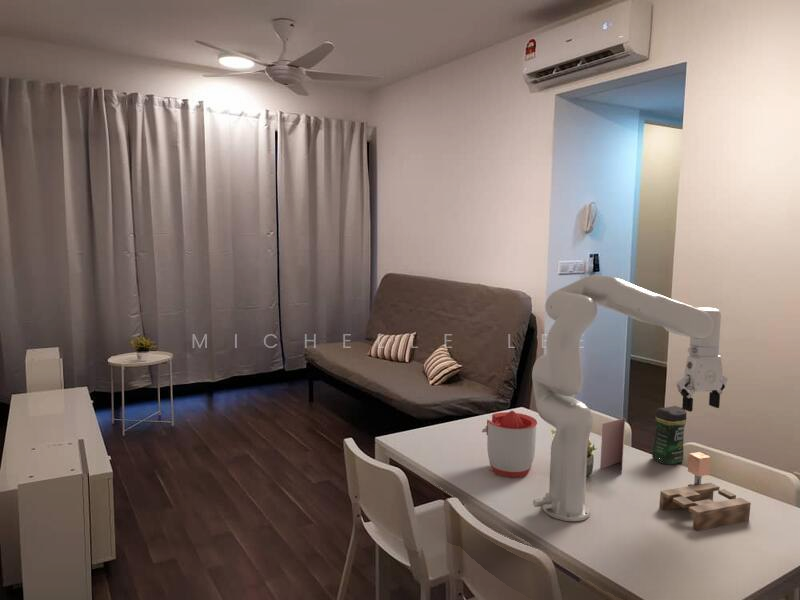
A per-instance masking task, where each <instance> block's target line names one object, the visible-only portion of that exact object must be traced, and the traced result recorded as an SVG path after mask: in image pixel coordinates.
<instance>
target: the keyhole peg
mask: <svg viewBox="0 0 800 600" xmlns="http://www.w3.org/2000/svg"><path fill="white" fill-rule="evenodd" d="M710 469H711V456H709V455H707V454H705V453H702V452H701V451H698V452H690V453H688V462H687V472H688V473H690V474H692V475H694V480H693V483H689V484H688V485H687V486H693V485H699V484H702V477H705V476H710Z"/></svg>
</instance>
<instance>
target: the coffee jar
mask: <svg viewBox="0 0 800 600" xmlns="http://www.w3.org/2000/svg"><path fill="white" fill-rule="evenodd" d="M687 415H688V414H687V410H684V409H683V408H682V407H680V406H678V405H673V406H666V407H659V408H657V409H656V413H655V433H654V440H653V441H654V442H653V446H652V447H653V448H652V455H651V457H652V459H654V460H655V461H656V462H658V463H659V462H660V464H665V465H675V464H680V463H683V461H684V453H685V451H684V440H685V439H684V437H685V436H684V435H685V434H684V433H685V427H686V423H687ZM659 458H660V459H659Z"/></svg>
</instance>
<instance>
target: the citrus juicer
mask: <svg viewBox="0 0 800 600" xmlns="http://www.w3.org/2000/svg"><path fill="white" fill-rule="evenodd" d="M537 424H538V421H537V419H536V418H534V417H532V416H530V415H527V414H524V413H518V412H515V411H514V410H510V411H507V412H505V411H504V412H496V413H492V416H491V420H490V419H486V425H485V428H483V429H482V430H481V433H486V436H487V441H486V443H487V444H486V445H487V446H486V447H487V450H486V451H487V455H488V456H487V457H488V462H489V465H490V468H491V470H492V471H493V473H495V474H496V475H498V476H502V477H505V478H517V479H519V478H522V477H525V476H528V474H529V472H530V470H531V469H532V467H533V466H532V465H533V462H534V458H535V453H536V442H537V441H536V439H537V437H536V436H537Z"/></svg>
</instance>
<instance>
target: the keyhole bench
mask: <svg viewBox="0 0 800 600" xmlns="http://www.w3.org/2000/svg"><path fill="white" fill-rule="evenodd" d="M716 491H717V493H718V495H720V496H722V497H724V498H726V499H727V500H726V499H725V500H721V501H714V492H716ZM659 493H660V495H659V507H658V508H659V509H660V510H662V511H663V510H664V511H665V510H670V509H676V508H683V509H687V508H688V511H689V513H692V514H693V523H692V524H693V525H692V529H693V530H695V531H701V530H702V531H703V530H707V529H713V528H718V527H723V526H727V525H732V524H737V523H742V522H747V521H750V514H751V506H752V505H751V502H750V501H748V500H747V499H745V498H742V497H738V498H737V495H736V494H734V493H733V492H731V491H729V490H726V489H725V488H723V489H720V486H719V485H717V484H714V483H712V482H705V483H701V484H699V485H693V486H688V485H687V486H682V487H675V488H669V489H664V490H660V492H659Z"/></svg>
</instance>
